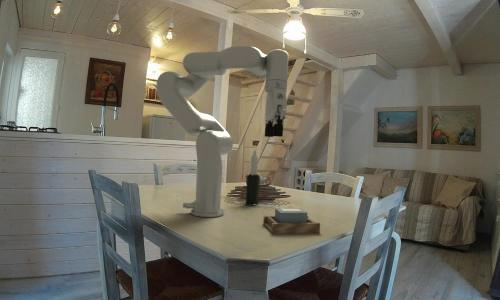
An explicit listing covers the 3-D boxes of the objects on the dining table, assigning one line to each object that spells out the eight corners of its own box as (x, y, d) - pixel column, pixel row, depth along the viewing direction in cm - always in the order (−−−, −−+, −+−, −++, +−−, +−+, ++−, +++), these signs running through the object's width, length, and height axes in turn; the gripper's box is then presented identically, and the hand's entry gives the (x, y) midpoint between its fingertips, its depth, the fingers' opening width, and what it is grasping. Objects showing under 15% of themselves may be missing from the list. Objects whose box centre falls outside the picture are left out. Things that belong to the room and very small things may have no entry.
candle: (259, 203, 136) (262, 149, 136) (255, 205, 131) (258, 149, 131) (248, 202, 138) (251, 149, 137) (245, 204, 133) (247, 149, 133)
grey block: (280, 228, 94) (281, 212, 94) (274, 223, 100) (275, 207, 99) (306, 227, 96) (307, 212, 96) (299, 222, 102) (300, 207, 102)
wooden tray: (272, 233, 91) (272, 224, 91) (263, 224, 101) (263, 215, 101) (319, 232, 95) (320, 223, 95) (306, 224, 104) (307, 215, 104)
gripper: (295, 83, 95) (292, 137, 95) (278, 92, 112) (275, 137, 112) (273, 81, 93) (270, 135, 93) (259, 90, 110) (256, 136, 110)
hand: (273, 136), depth 103 cm, fingers open, 9 cm apart
